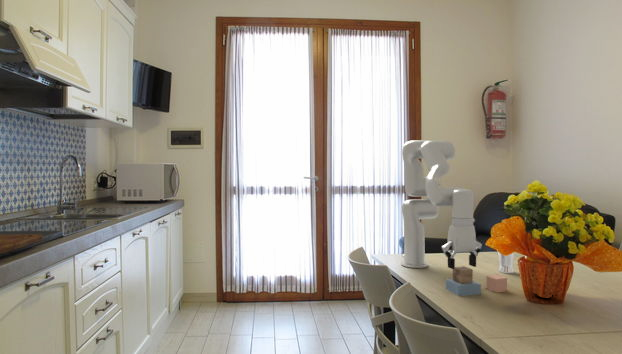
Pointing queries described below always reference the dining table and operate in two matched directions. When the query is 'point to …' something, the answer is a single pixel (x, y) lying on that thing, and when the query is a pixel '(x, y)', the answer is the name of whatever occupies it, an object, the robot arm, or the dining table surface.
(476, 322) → the dining table surface
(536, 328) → the dining table surface
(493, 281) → the pink cube
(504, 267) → the beer glass
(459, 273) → the walnut cube
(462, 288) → the base block
